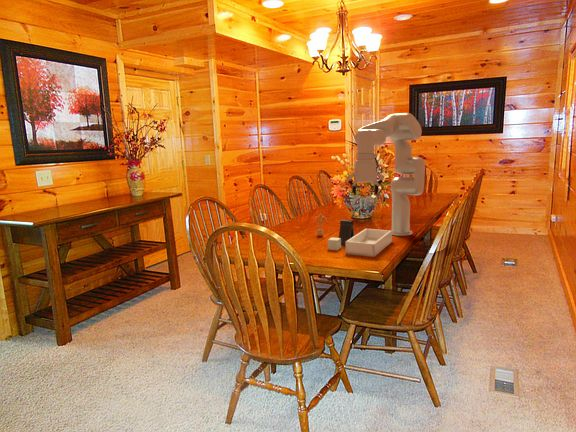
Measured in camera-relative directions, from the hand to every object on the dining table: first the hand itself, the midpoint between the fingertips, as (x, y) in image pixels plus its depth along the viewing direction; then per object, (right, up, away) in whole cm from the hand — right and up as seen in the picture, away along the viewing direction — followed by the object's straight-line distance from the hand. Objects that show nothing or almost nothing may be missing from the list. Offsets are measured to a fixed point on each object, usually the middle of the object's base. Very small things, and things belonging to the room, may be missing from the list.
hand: (365, 194), depth 199 cm
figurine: (-17, -21, +43) cm, 51 cm away
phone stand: (-5, -24, +25) cm, 35 cm away
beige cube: (-13, -26, +15) cm, 33 cm away
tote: (+5, -26, +14) cm, 30 cm away
